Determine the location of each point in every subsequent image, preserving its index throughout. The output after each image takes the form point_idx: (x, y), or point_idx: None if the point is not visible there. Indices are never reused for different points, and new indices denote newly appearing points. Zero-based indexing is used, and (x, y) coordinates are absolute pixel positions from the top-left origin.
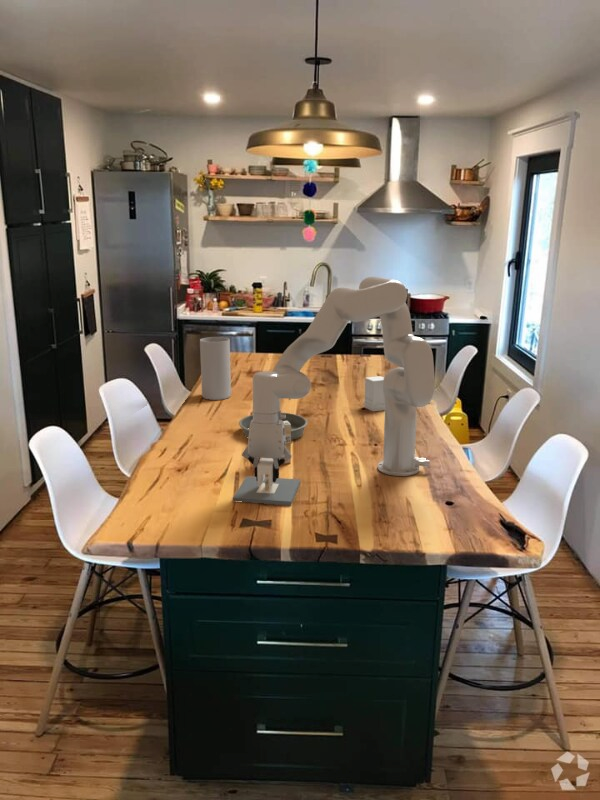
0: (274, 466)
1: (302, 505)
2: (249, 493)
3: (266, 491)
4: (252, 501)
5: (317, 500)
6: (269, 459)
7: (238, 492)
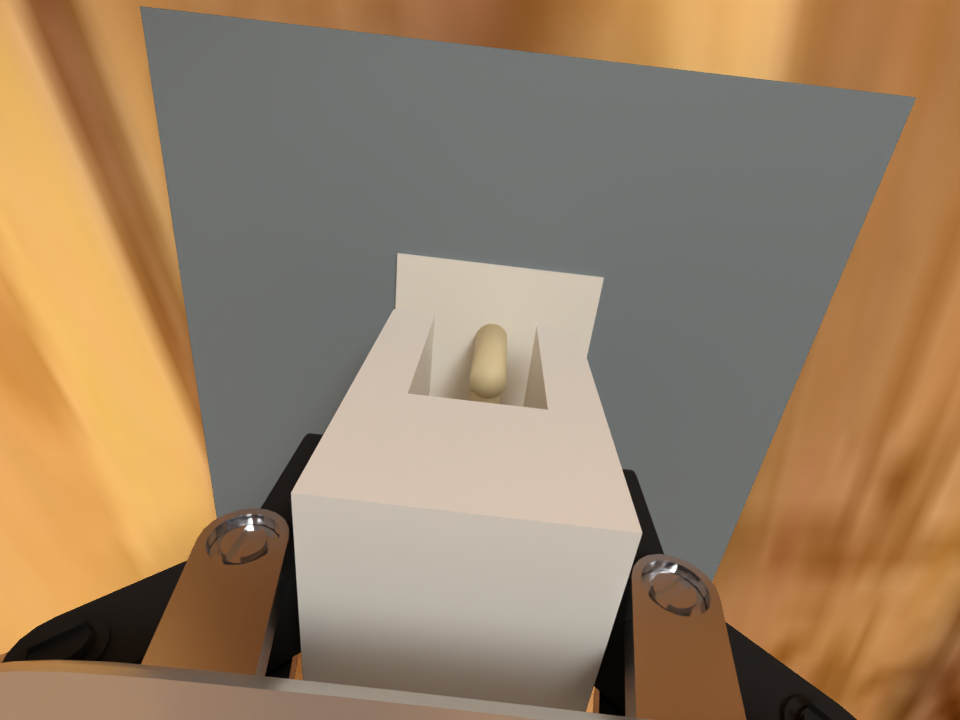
0: (595, 706)
1: (772, 588)
2: None
3: None
4: None
5: (925, 515)
6: (488, 572)
7: (230, 481)
